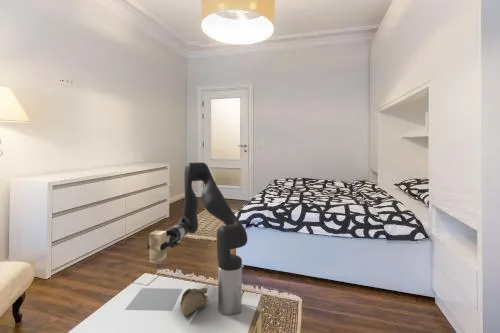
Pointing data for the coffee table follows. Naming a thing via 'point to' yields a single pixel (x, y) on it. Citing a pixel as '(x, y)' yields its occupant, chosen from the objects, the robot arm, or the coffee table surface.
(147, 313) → the coffee table surface
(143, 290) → the slate mat
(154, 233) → the birch block
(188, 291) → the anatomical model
